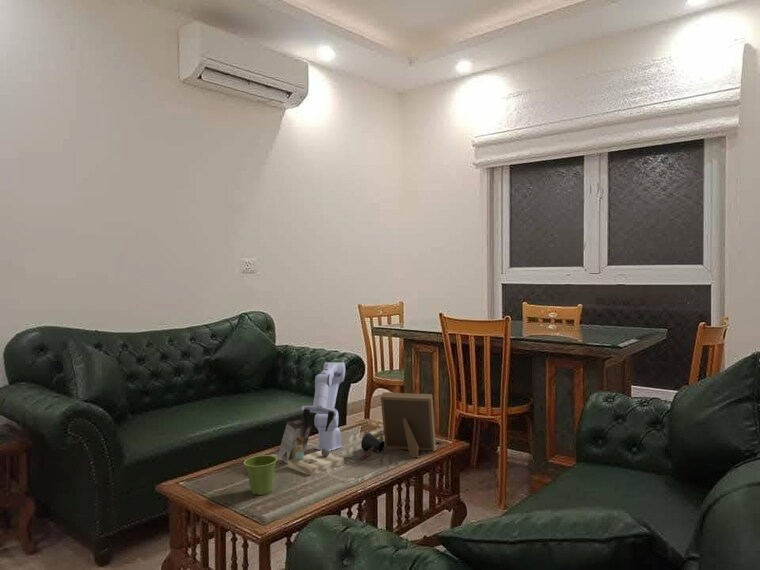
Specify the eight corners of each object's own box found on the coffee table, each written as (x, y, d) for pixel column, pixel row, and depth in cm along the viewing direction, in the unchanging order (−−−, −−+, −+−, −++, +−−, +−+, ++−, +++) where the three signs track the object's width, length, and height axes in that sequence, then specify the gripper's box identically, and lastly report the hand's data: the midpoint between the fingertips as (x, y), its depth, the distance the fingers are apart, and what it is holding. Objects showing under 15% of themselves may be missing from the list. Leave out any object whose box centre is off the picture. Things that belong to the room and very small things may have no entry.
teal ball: (300, 457, 228) (300, 449, 228) (305, 459, 226) (305, 451, 226) (293, 459, 226) (293, 451, 226) (298, 461, 224) (298, 453, 223)
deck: (320, 456, 237) (320, 450, 237) (344, 464, 226) (344, 458, 226) (287, 466, 225) (287, 460, 225) (310, 475, 214) (310, 469, 214)
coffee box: (293, 451, 238) (302, 417, 235) (303, 458, 235) (312, 424, 232) (277, 456, 231) (286, 421, 228) (287, 464, 227) (297, 429, 224)
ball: (326, 454, 231) (325, 446, 231) (331, 456, 229) (331, 447, 229) (319, 456, 229) (319, 448, 229) (325, 458, 227) (324, 449, 227)
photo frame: (387, 444, 250) (386, 389, 249) (435, 447, 244) (434, 391, 243) (378, 456, 236) (377, 397, 235) (429, 459, 230) (428, 399, 229)
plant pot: (263, 482, 208) (263, 452, 208) (285, 490, 201) (284, 458, 200) (237, 493, 199) (236, 461, 199) (258, 501, 192) (257, 468, 191)
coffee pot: (370, 445, 250) (386, 451, 245) (345, 462, 235) (361, 468, 230) (370, 429, 248) (386, 435, 243) (345, 445, 233) (362, 452, 229)
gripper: (304, 392, 233) (299, 422, 224) (338, 397, 234) (335, 426, 225) (303, 400, 238) (298, 430, 229) (337, 405, 239) (333, 434, 230)
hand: (316, 429), depth 227 cm, fingers open, 7 cm apart
